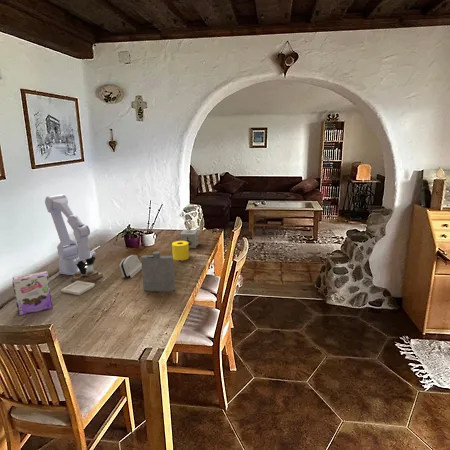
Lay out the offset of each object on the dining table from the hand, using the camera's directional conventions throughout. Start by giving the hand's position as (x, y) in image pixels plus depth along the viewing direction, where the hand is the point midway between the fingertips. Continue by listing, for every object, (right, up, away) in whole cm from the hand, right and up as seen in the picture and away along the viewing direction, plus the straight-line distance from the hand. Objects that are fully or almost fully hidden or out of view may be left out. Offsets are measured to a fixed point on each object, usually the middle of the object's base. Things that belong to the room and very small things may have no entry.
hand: (86, 272), depth 190 cm
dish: (0, -7, -12) cm, 14 cm away
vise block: (0, -4, +1) cm, 4 cm away
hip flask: (+41, -7, -14) cm, 44 cm away
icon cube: (+50, +11, +51) cm, 73 cm away
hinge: (+22, -1, +9) cm, 24 cm away
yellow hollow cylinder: (+47, +5, +30) cm, 56 cm away
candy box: (-11, -13, -31) cm, 35 cm away
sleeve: (0, -1, 0) cm, 1 cm away
